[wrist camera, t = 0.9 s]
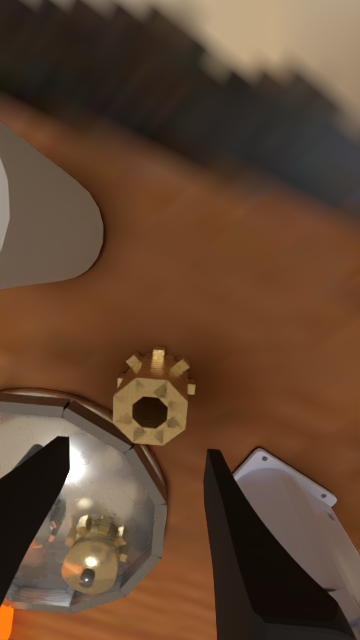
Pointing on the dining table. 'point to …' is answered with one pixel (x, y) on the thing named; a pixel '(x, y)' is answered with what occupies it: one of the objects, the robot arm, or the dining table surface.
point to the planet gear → (153, 397)
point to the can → (42, 218)
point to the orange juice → (5, 621)
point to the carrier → (84, 504)
